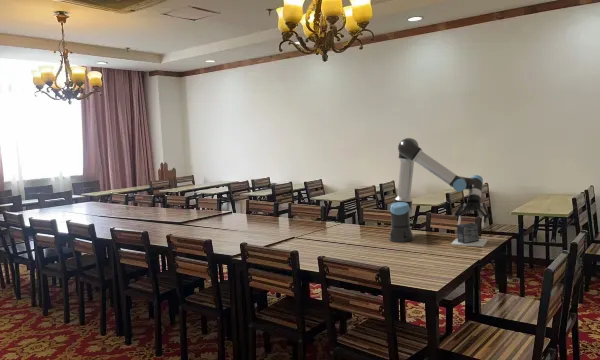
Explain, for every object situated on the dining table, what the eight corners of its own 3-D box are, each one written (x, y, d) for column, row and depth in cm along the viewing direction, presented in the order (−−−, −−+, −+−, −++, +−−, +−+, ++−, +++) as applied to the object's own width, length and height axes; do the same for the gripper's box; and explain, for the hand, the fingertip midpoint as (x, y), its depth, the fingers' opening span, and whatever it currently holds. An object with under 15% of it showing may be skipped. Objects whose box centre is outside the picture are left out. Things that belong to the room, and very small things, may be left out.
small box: (472, 239, 287) (471, 222, 286) (479, 241, 281) (478, 224, 280) (457, 241, 284) (456, 224, 283) (464, 243, 278) (463, 226, 277)
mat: (451, 245, 281) (451, 243, 281) (456, 239, 293) (456, 238, 293) (483, 246, 272) (483, 244, 272) (487, 241, 284) (487, 239, 284)
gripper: (496, 201, 290) (493, 230, 279) (454, 200, 303) (450, 228, 292) (495, 193, 285) (491, 223, 274) (452, 193, 298) (447, 222, 287)
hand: (470, 226), depth 283 cm, fingers open, 13 cm apart
